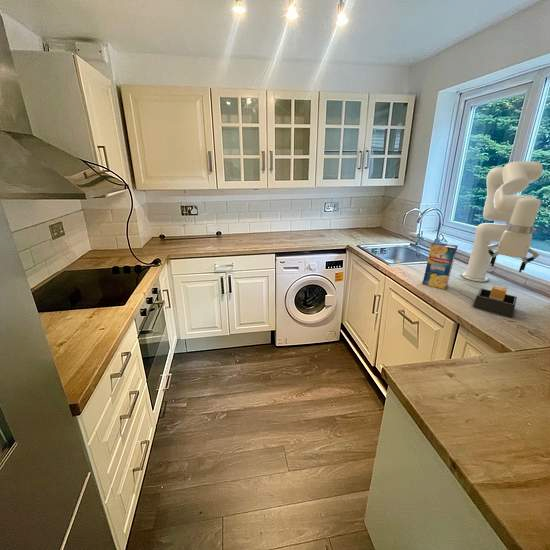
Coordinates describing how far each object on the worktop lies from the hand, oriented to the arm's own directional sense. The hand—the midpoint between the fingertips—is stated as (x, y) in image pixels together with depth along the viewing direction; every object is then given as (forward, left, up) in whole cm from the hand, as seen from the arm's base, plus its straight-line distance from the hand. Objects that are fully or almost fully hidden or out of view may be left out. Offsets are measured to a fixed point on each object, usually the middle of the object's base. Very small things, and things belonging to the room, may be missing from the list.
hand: (505, 268), depth 123 cm
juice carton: (+1, 0, -18) cm, 18 cm away
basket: (0, 0, -19) cm, 19 cm away
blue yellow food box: (-11, -27, -19) cm, 35 cm away
